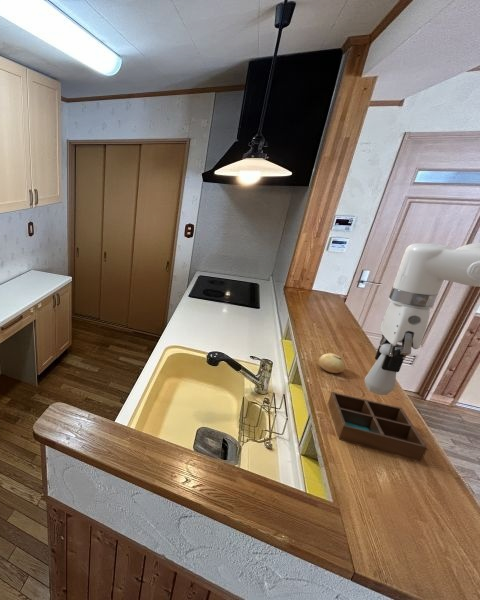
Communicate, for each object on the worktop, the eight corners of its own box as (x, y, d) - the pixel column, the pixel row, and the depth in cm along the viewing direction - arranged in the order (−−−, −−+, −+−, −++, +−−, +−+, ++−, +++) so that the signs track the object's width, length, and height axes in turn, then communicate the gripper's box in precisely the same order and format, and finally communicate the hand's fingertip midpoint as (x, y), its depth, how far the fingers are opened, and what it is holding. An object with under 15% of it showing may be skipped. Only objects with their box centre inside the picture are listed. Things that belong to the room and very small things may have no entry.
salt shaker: (369, 395, 82) (386, 350, 77) (357, 382, 87) (372, 339, 83) (397, 398, 81) (415, 353, 76) (382, 385, 86) (399, 342, 81)
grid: (327, 403, 103) (331, 391, 102) (396, 420, 96) (401, 408, 94) (339, 439, 89) (343, 425, 88) (420, 461, 82) (427, 447, 80)
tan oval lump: (318, 372, 120) (323, 355, 118) (315, 362, 127) (319, 346, 124) (344, 378, 117) (350, 361, 114) (340, 367, 123) (345, 351, 121)
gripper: (452, 312, 66) (420, 387, 73) (417, 289, 80) (393, 353, 87) (404, 306, 69) (377, 378, 76) (379, 285, 84) (358, 347, 90)
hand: (386, 364), depth 81 cm, fingers closed on salt shaker, 4 cm apart
